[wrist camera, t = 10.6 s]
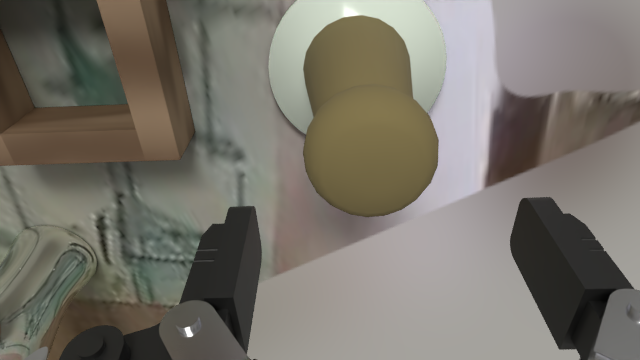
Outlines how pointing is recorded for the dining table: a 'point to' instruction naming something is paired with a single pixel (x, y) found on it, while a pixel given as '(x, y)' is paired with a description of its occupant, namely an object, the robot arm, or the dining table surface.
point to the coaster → (335, 3)
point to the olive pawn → (365, 120)
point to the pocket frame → (106, 120)
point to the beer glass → (40, 288)
